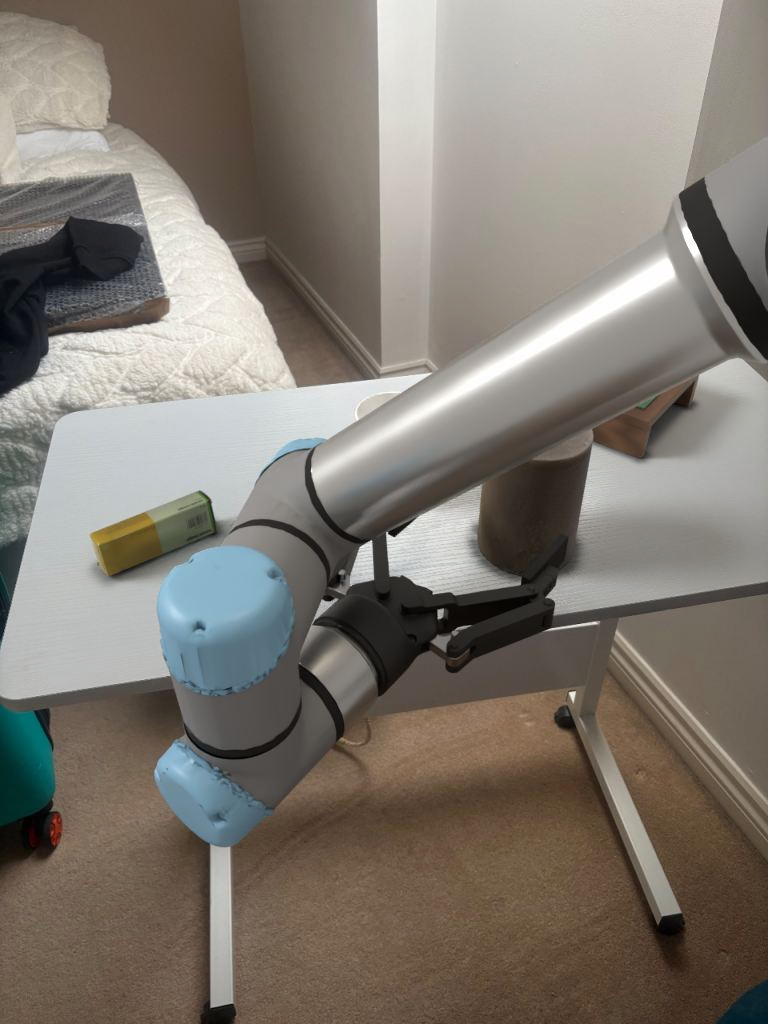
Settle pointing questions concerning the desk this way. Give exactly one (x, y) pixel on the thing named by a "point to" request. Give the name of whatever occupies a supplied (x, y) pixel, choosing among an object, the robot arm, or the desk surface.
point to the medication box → (153, 532)
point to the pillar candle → (534, 506)
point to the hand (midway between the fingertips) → (495, 516)
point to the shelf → (641, 420)
